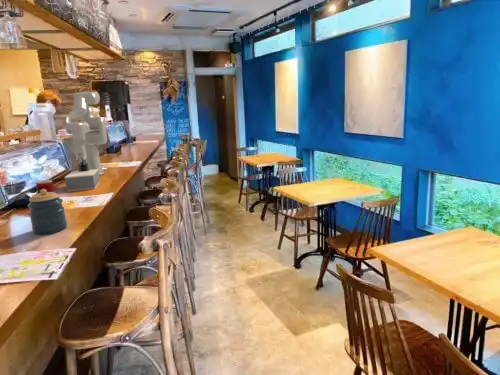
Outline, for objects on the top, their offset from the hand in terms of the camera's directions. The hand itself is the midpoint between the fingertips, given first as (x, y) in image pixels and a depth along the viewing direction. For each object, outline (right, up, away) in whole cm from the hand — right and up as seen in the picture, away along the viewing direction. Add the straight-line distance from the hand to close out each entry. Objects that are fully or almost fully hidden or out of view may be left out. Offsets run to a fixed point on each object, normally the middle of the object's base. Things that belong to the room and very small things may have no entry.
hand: (84, 170), depth 241 cm
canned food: (-5, -19, -35) cm, 40 cm away
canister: (+24, -29, -85) cm, 94 cm away
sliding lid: (+2, -3, -7) cm, 8 cm away
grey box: (+2, -11, -5) cm, 12 cm away
